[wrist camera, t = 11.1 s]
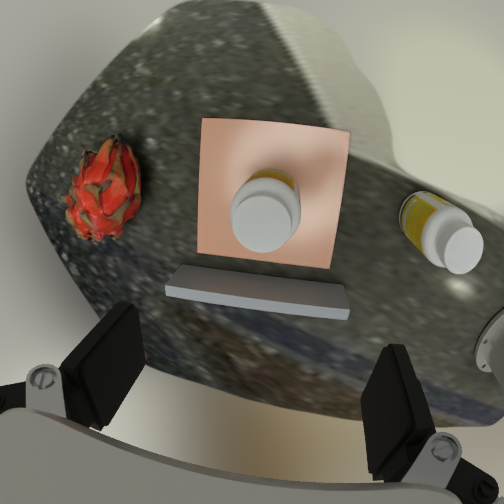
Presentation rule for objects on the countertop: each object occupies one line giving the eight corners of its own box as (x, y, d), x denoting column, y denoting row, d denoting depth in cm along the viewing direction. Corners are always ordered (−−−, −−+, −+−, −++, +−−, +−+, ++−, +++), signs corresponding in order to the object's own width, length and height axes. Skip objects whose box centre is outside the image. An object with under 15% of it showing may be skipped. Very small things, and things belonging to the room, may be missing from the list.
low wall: (343, 284, 32) (350, 309, 27) (341, 294, 32) (347, 319, 28) (181, 264, 34) (165, 285, 29) (182, 273, 34) (165, 295, 29)
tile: (349, 132, 26) (350, 131, 25) (328, 266, 31) (329, 268, 31) (203, 118, 27) (202, 118, 27) (198, 250, 33) (197, 252, 32)
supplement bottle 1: (233, 182, 29) (206, 206, 20) (284, 158, 27) (280, 170, 18) (259, 230, 30) (243, 274, 21) (308, 208, 29) (315, 244, 20)
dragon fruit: (109, 227, 35) (144, 138, 32) (137, 265, 31) (181, 159, 27) (48, 220, 28) (82, 116, 25) (64, 261, 24) (105, 133, 21)
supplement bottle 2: (402, 245, 29) (437, 290, 20) (393, 197, 28) (432, 226, 19) (444, 232, 28) (490, 271, 19) (437, 185, 26) (488, 209, 17)
